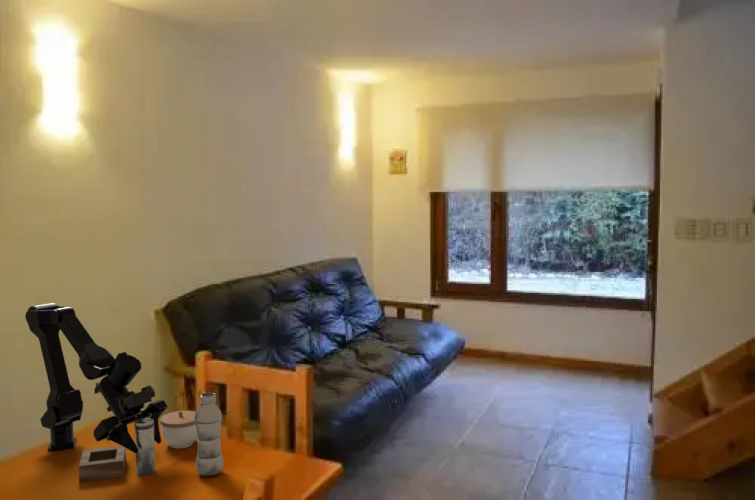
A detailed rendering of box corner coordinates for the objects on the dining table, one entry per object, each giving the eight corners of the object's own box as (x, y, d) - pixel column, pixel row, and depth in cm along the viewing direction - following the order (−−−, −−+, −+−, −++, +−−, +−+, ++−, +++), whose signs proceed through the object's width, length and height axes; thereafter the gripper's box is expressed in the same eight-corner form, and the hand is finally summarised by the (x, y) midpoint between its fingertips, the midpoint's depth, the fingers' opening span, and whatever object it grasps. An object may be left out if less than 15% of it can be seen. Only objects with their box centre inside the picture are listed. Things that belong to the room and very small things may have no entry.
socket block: (83, 465, 163) (83, 450, 163) (126, 460, 167) (125, 445, 166) (79, 482, 154) (78, 466, 154) (124, 476, 157) (123, 460, 157)
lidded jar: (164, 454, 170) (163, 420, 169) (158, 441, 179) (157, 408, 179) (205, 447, 175) (204, 414, 174) (197, 434, 184) (196, 402, 184)
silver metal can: (136, 469, 161) (134, 419, 160) (155, 466, 163) (154, 417, 161) (135, 477, 157) (133, 425, 156) (155, 474, 158) (154, 423, 157)
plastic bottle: (216, 480, 155) (214, 399, 153) (190, 478, 156) (188, 398, 154) (228, 469, 161) (226, 391, 159) (203, 466, 163) (201, 390, 161)
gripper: (99, 387, 151) (132, 442, 147) (161, 369, 167) (193, 417, 163) (79, 414, 156) (110, 468, 152) (142, 393, 172) (172, 441, 168)
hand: (148, 447), depth 158 cm, fingers open, 7 cm apart
